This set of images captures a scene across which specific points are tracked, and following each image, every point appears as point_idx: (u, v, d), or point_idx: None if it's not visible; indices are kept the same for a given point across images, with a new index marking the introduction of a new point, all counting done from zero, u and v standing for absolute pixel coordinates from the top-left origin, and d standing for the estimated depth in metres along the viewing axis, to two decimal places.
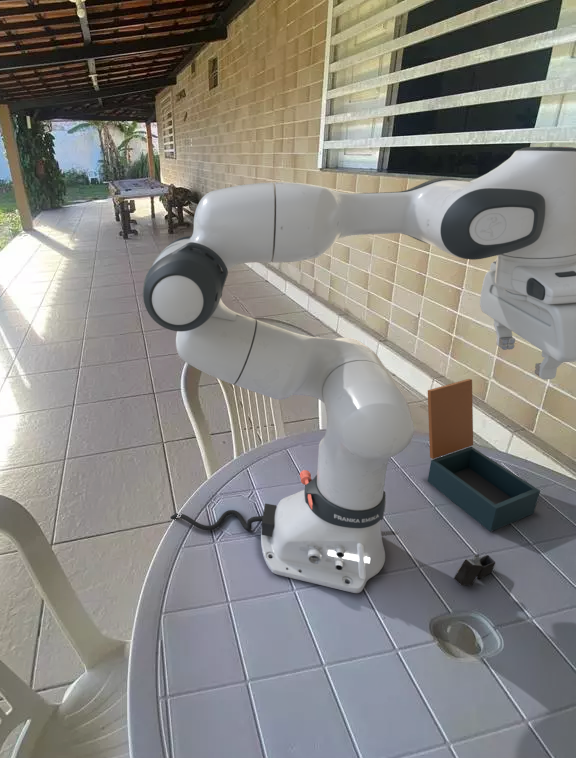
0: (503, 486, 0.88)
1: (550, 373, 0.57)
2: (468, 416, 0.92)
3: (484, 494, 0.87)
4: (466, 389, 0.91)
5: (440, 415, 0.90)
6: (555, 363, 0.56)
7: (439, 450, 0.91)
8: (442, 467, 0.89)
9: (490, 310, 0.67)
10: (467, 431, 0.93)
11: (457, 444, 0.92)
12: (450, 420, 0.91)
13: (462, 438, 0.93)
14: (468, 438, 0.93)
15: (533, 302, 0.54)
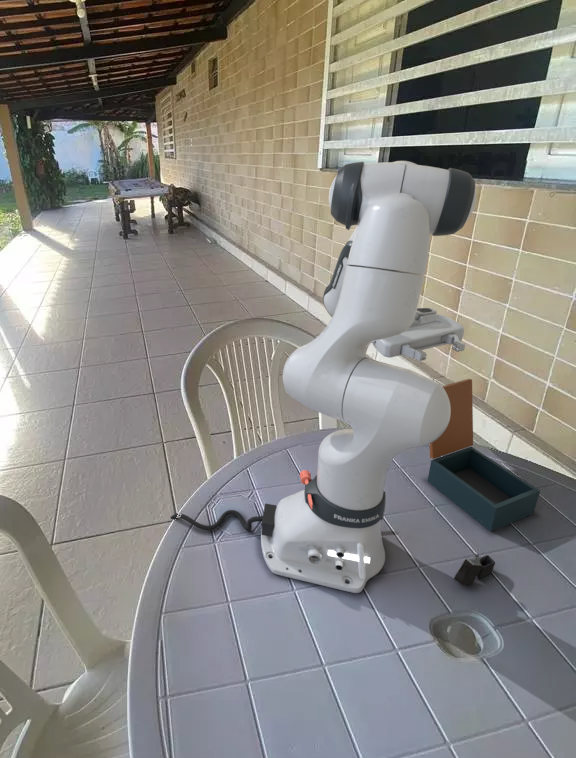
0: (503, 486, 0.88)
1: None
2: (468, 416, 0.92)
3: (484, 494, 0.87)
4: (466, 389, 0.91)
5: None
6: None
7: (439, 450, 0.91)
8: (442, 467, 0.89)
9: (398, 339, 0.94)
10: (467, 431, 0.93)
11: (457, 444, 0.92)
12: (450, 420, 0.91)
13: (462, 438, 0.93)
14: (468, 438, 0.93)
15: (427, 315, 1.00)
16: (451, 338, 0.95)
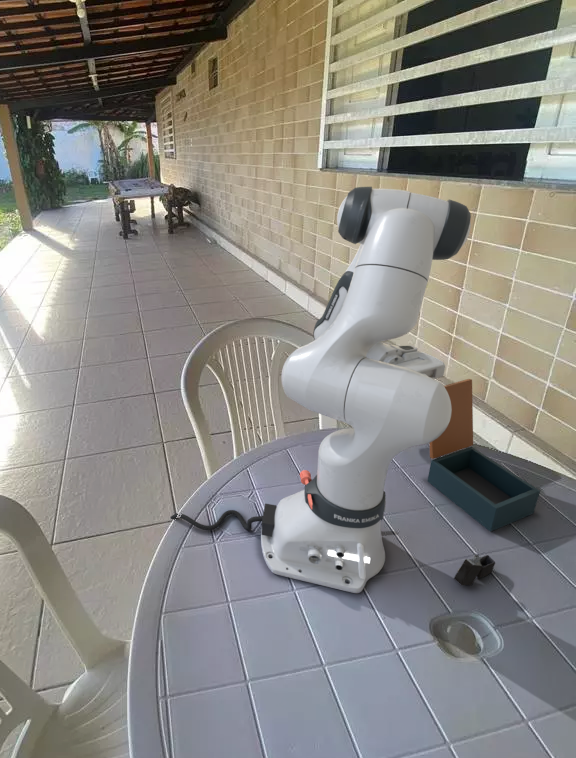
0: (503, 486, 0.88)
1: None
2: (468, 416, 0.92)
3: (484, 494, 0.87)
4: (466, 389, 0.91)
5: None
6: None
7: (439, 450, 0.91)
8: (442, 467, 0.89)
9: None
10: (467, 431, 0.93)
11: (457, 444, 0.92)
12: (450, 420, 0.91)
13: (462, 438, 0.93)
14: (468, 438, 0.93)
15: (410, 353, 1.06)
16: None
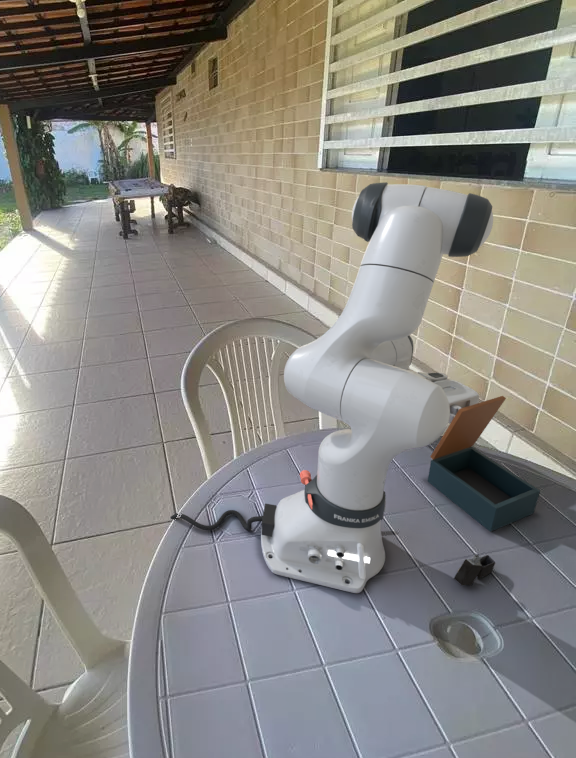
0: (503, 486, 0.88)
1: None
2: (483, 426, 0.89)
3: (484, 494, 0.87)
4: (495, 406, 0.85)
5: (459, 428, 0.86)
6: None
7: (442, 453, 0.90)
8: (442, 467, 0.89)
9: None
10: (475, 437, 0.91)
11: (460, 447, 0.92)
12: (465, 431, 0.88)
13: (466, 442, 0.92)
14: (472, 441, 0.92)
15: (440, 381, 0.98)
16: (455, 410, 0.91)
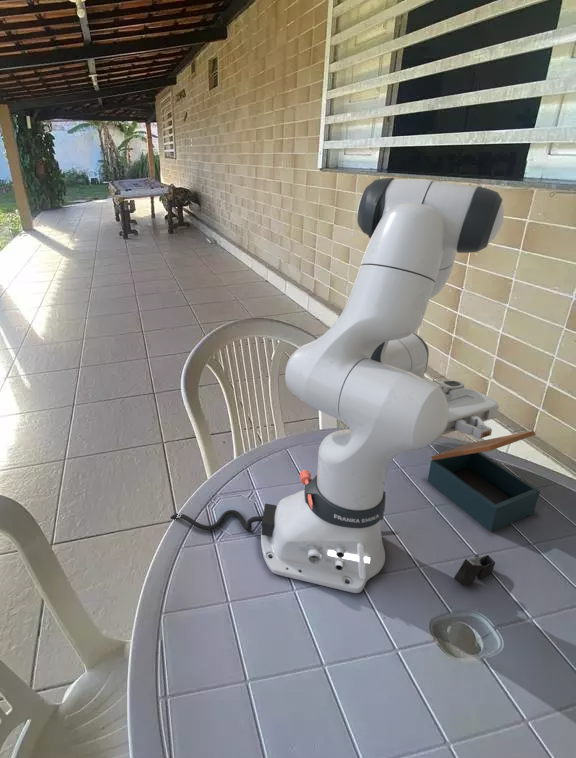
0: (503, 486, 0.88)
1: None
2: None
3: (484, 494, 0.87)
4: None
5: None
6: None
7: None
8: (442, 467, 0.89)
9: None
10: None
11: None
12: None
13: None
14: None
15: (457, 390, 0.94)
16: (474, 420, 0.87)
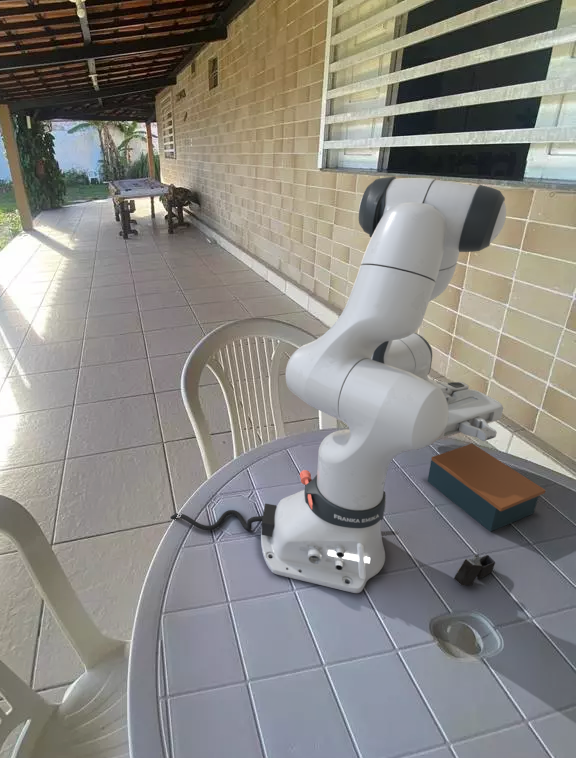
0: None
1: None
2: None
3: None
4: None
5: None
6: None
7: None
8: None
9: None
10: None
11: None
12: None
13: None
14: None
15: (461, 391, 0.94)
16: (479, 422, 0.87)
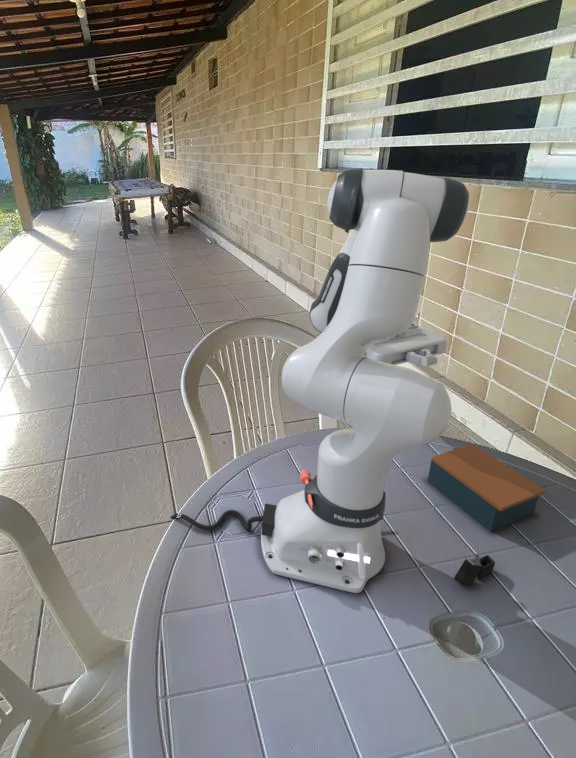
0: None
1: None
2: None
3: None
4: None
5: None
6: None
7: None
8: None
9: (389, 350, 0.95)
10: None
11: None
12: None
13: None
14: None
15: (411, 329, 1.03)
16: (423, 352, 0.96)
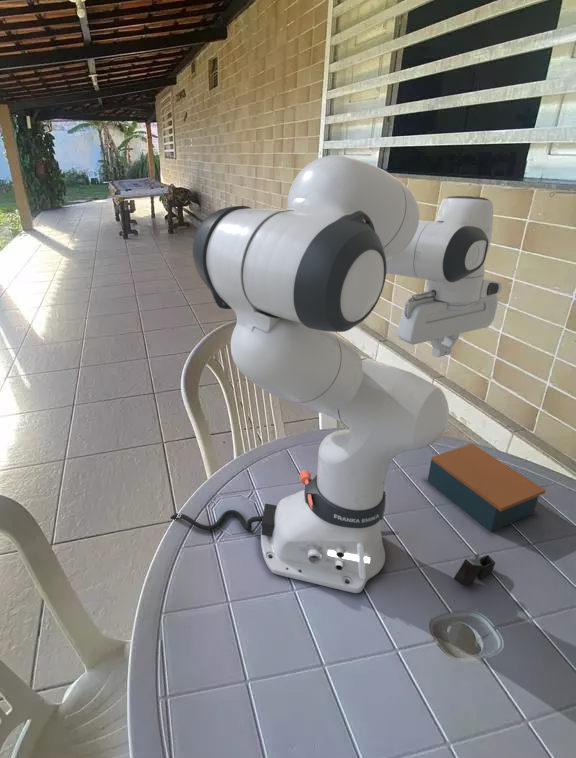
0: None
1: None
2: None
3: None
4: None
5: None
6: None
7: None
8: None
9: (427, 336, 0.77)
10: None
11: None
12: None
13: None
14: None
15: (484, 299, 0.77)
16: (451, 337, 0.81)
